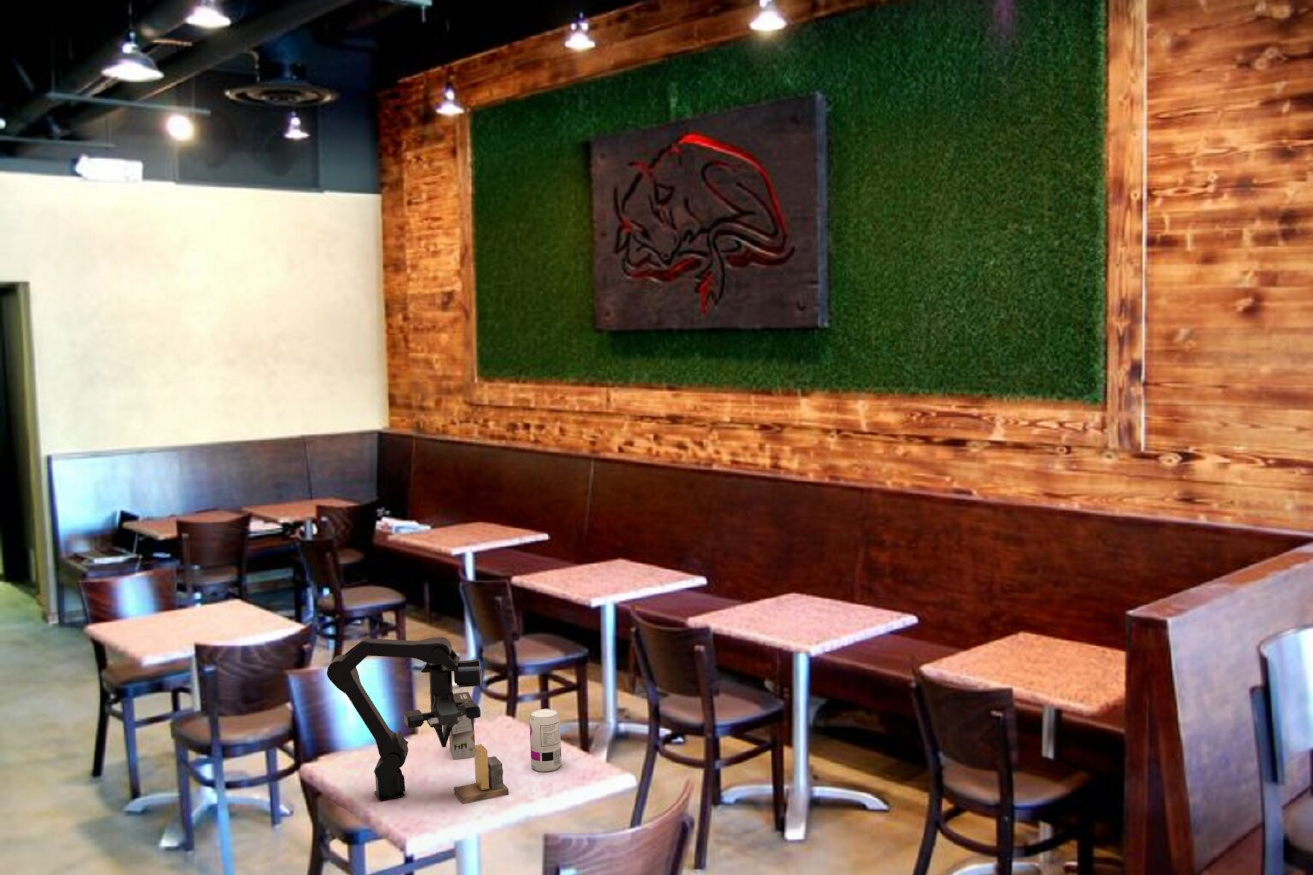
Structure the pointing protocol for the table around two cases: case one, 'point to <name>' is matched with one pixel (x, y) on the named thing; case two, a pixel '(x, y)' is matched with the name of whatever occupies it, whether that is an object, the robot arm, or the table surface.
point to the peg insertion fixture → (495, 789)
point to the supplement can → (545, 740)
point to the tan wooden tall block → (481, 767)
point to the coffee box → (462, 732)
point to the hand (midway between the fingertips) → (443, 746)
